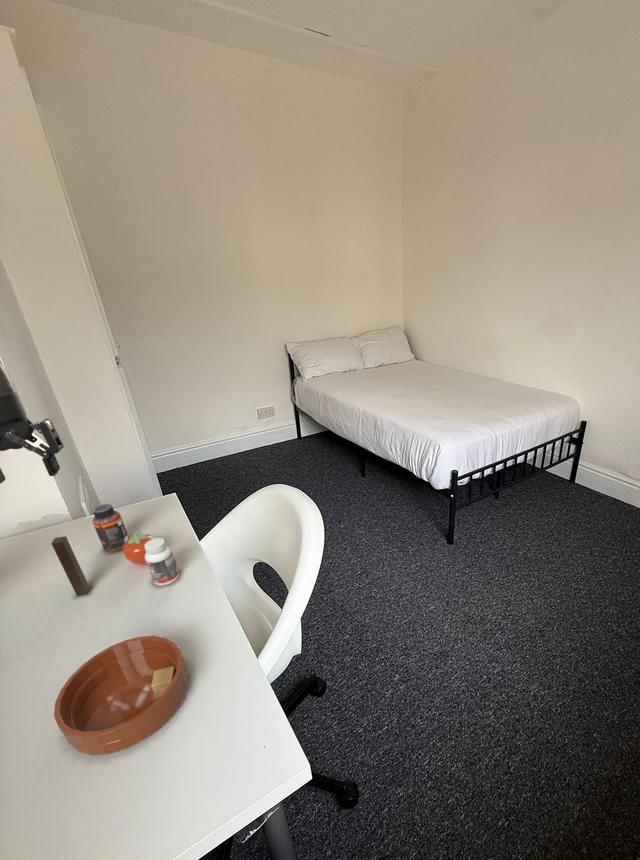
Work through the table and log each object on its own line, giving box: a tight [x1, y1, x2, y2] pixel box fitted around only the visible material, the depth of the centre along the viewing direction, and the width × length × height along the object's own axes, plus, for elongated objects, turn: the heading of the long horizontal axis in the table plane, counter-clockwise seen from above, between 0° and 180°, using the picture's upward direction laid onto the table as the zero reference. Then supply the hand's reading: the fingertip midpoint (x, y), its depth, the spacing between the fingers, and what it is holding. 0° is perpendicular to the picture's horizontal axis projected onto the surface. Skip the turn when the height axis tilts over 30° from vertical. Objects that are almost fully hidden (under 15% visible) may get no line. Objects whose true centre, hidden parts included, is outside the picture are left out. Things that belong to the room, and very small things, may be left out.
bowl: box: [53, 635, 190, 756], centre depth 66 cm, size 17×17×5 cm
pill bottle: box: [144, 537, 180, 586], centre depth 91 cm, size 5×5×10 cm
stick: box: [51, 535, 91, 597], centre depth 87 cm, size 2×2×14 cm
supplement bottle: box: [91, 503, 130, 553], centre depth 103 cm, size 6×6×11 cm
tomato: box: [121, 532, 156, 566], centre depth 98 cm, size 7×7×8 cm
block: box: [151, 666, 176, 698], centre depth 67 cm, size 3×3×3 cm
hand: (27, 478), depth 77 cm, fingers open, 8 cm apart
